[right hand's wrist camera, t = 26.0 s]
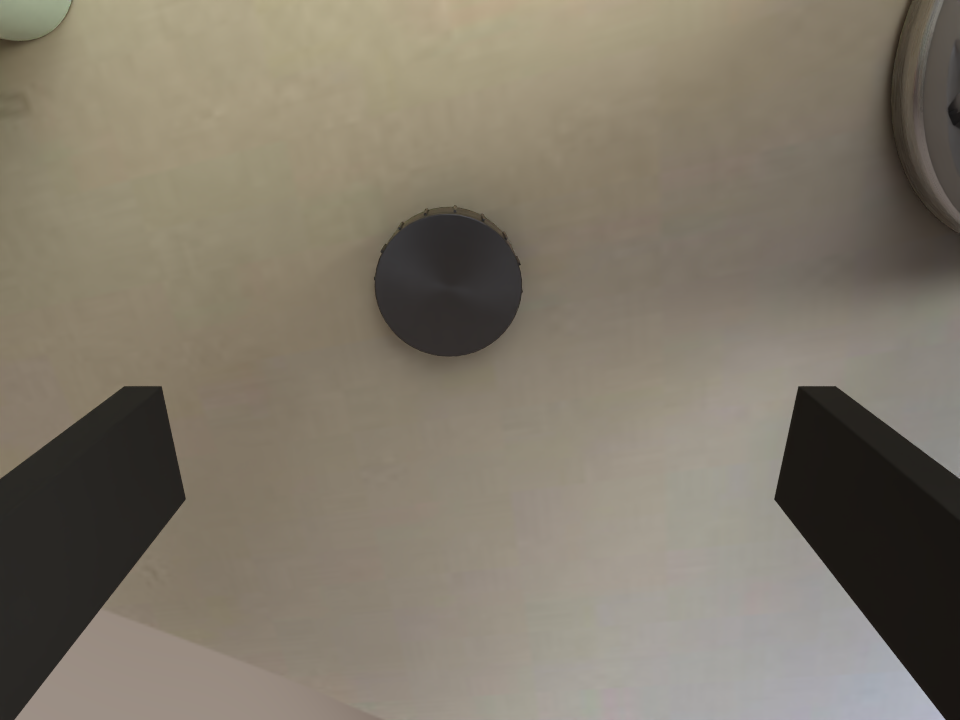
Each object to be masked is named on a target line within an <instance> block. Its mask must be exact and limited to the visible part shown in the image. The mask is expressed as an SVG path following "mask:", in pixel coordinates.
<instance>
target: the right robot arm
mask: <svg viewBox="0 0 960 720" xmlns="http://www.w3.org/2000/svg"><path fill="white" fill-rule="evenodd" d="M891 109H892V124H893V132H894V139H895V143H896V147H897V151H898V155H899V158H900V161H901V164H902V167H903V169H904V172H905V174H906V176H907V178H908V180H909V182H910V184H911V186H912V188H913V189H914V191H915V192H916V194H917V195H918V197H919V198H920V200H921V201H922V202H923V204H924V205H925V206H926V207H927V208H928V209H929V210H930V212H931V213H932V214H933V215H935V216H936V217H937V218H938V219H939V220H940V221H941V222H943V223H944V224H945V225H947V226H948V227H950V228H951V229H953V230H954V231H956V232H957V233H959V234H960V0H912V2H911V5H910V7H909V10H908V13H907V16H906V19H905V22H904V25H903V28H902V32H901V36H900V40H899V44H898V48H897V52H896V58H895V64H894V71H893V78H892V93H891ZM185 500H186V498H185V494H184V489H183V484H182V480H181V475H180V470H179V466H178V461H177V456H176V452H175V447H174V442H173V438H172V433H171V428H170V424H169V419H168V414H167V410H166V405H165V400H164V396H163V391H162V386H124V387H123V388H122V389H120V390H119V391H117V392H116V393H115V394H113V395H112V396H111V397H109V398H108V399H107V400H105V401H104V402H103V403H101V404H100V405H99V406H97V407H96V408H95V409H93V410H92V411H91V412H89V413H88V414H87V415H85V416H84V417H83V418H81V419H80V420H79V421H77V422H76V423H75V424H73V425H72V426H71V427H69V428H68V429H67V430H65V431H64V432H63V433H61V434H60V435H59V436H57V437H56V438H55V439H53V440H52V441H51V442H49V443H48V444H47V445H45V446H44V447H43V448H41V449H40V450H38V451H37V452H36V453H34V454H33V455H32V456H30V457H29V458H28V459H26V460H25V461H24V462H22V463H21V464H20V465H18V466H17V467H16V468H14V469H13V470H12V471H10V472H9V473H8V474H6V475H5V476H4V477H2V478H1V479H0V720H14V719H15V718H16V717H17V716H18V714H19V713H20V712H21V710H22V709H23V708H24V707H25V705H26V704H27V703H28V701H29V700H30V699H31V698H32V696H33V695H34V694H35V692H36V691H37V690H38V689H39V687H40V686H41V685H42V683H43V682H44V681H45V680H46V678H47V677H48V676H49V674H50V673H51V672H52V671H53V669H54V668H55V667H56V665H57V664H58V663H59V662H60V660H61V659H62V658H63V656H64V655H65V654H66V653H67V651H68V650H69V649H70V647H71V646H72V645H73V644H74V642H75V641H76V640H77V638H78V637H79V636H80V635H81V633H82V632H83V631H84V629H85V628H86V627H87V626H88V624H89V623H90V622H91V620H92V619H93V618H94V617H95V615H96V614H97V613H98V611H99V610H100V609H101V608H102V606H103V605H104V604H105V602H106V601H107V600H108V599H109V597H110V596H111V595H112V593H113V592H114V591H115V590H116V588H117V587H118V586H119V584H120V583H121V582H122V581H123V579H124V578H125V577H126V575H127V574H128V573H129V572H130V570H131V569H132V568H133V566H134V565H135V564H136V563H137V561H138V560H139V559H140V557H141V556H142V555H143V554H144V552H145V551H146V550H147V548H148V547H149V546H150V545H151V543H152V542H153V541H154V539H155V538H156V537H157V536H158V534H159V533H160V532H161V530H162V529H163V528H164V527H165V525H166V524H167V523H168V521H169V520H170V519H171V518H172V516H173V515H174V514H175V512H176V511H177V510H178V509H179V507H180V506H181V505H182V503H183V502H184V501H185ZM774 500H775V501H776V502H777V503H778V505H779V506H780V507H781V509H782V510H783V511H784V512H785V514H786V515H787V516H788V518H789V519H790V520H791V521H792V523H793V524H794V525H795V527H796V528H797V529H798V530H799V532H800V533H801V534H802V536H803V537H804V538H805V539H806V541H807V542H808V543H809V545H810V546H811V547H812V548H813V550H814V551H815V552H816V554H817V555H818V556H819V557H820V559H821V560H822V561H823V563H824V564H825V565H826V566H827V568H828V569H829V570H830V572H831V573H832V574H833V575H834V577H835V578H836V579H837V581H838V582H839V583H840V584H841V586H842V587H843V588H844V590H845V591H846V592H847V593H848V595H849V596H850V597H851V599H852V600H853V601H854V602H855V604H856V605H857V606H858V608H859V609H860V610H861V611H862V613H863V614H864V615H865V617H866V618H867V619H868V620H869V622H870V623H871V624H872V626H873V627H874V628H875V629H876V631H877V632H878V633H879V635H880V636H881V637H882V638H883V640H884V641H885V642H886V644H887V645H888V646H889V647H890V649H891V650H892V651H893V653H894V654H895V655H896V656H897V658H898V659H899V660H900V662H901V663H902V664H903V665H904V667H905V668H906V669H907V671H908V672H909V673H910V674H911V676H912V677H913V678H914V680H915V681H916V682H917V683H918V685H919V686H920V687H921V689H922V690H923V691H924V692H925V694H926V695H927V696H928V698H929V699H930V700H931V701H932V703H933V704H934V705H935V707H936V708H937V709H938V710H939V712H940V713H941V714H942V716H943V717H944V718H945V719H946V720H960V479H959V478H958V477H956V476H955V475H954V474H952V473H951V472H950V471H948V470H947V469H946V468H944V467H943V466H942V465H940V464H939V463H938V462H936V461H935V460H934V459H932V458H931V457H930V456H928V455H927V454H926V453H924V452H923V451H922V450H920V449H919V448H917V447H916V446H915V445H913V444H912V443H911V442H909V441H908V440H907V439H905V438H904V437H903V436H901V435H900V434H899V433H897V432H896V431H895V430H893V429H892V428H891V427H889V426H888V425H887V424H885V423H884V422H883V421H881V420H880V419H879V418H877V417H876V416H875V415H873V414H872V413H871V412H869V411H868V410H867V409H865V408H864V407H863V406H861V405H860V404H859V403H857V402H856V401H855V400H853V399H852V398H851V397H849V396H848V395H847V394H845V393H844V392H843V391H841V390H840V389H838V388H837V387H836V386H798V391H797V396H796V400H795V405H794V410H793V414H792V419H791V424H790V428H789V433H788V438H787V442H786V447H785V452H784V456H783V461H782V466H781V470H780V475H779V480H778V484H777V489H776V494H775V498H774Z"/></svg>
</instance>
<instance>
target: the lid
mask: <svg viewBox="0 0 960 720" xmlns="http://www.w3.org/2000/svg"><path fill="white" fill-rule="evenodd" d="M381 253H382V255H381V257H380V259H379V262H378V265H377V269H376V275H375V277H374V280H375V294H376V299H377V303H378V306H379V309H380V312H381V314H382V316H383V318H384V320H385V321H386V323H387V324H388V326H389V327H390V328H391V330H392V331H393V332H394V333H395V334H396V335H397V336H398V337H399V338H400V339H402V340H403V341H404V342H405V343H407V344H409V345H410V346H412V347H414V348H416V349H418V350H420V351H422V352H425V353H428V354H433V355H437V356H461V355H466V354H470V353H473V352H476V351H478V350H481V349H483V348H485V347H486V346H488V345H490V344H491V343H493V342H494V341H495V340H496V339H498V338H499V337H500V336H501V335H502V334H503V333H504V332H505V331H506V329H507V328H508V327H509V325H510V324H511V322H512V320H513V319H514V317H515V315H516V312H517V310H518V307H519V304H520V300H521V293H522V279H521V272H520V268H519V265H521V264H520V261H519V259H518V256H515V253H514V251H513V249H512V246H511V244H510V243H509V241H508V238H507V236H506V233H505V232H503V233H502V231H501V230H500V229H499V228H498V227H497V226H496V225H495V224H494V223H492V222H491V221H489V220H488V219H487V218H485V216H484V214H481V215H480V214H478V213H475V212H472V211H470V210H466V209H462V208H457V206H454V207H442V208H435V209H431V210H428V208H427V209H425V211H424V212H422V213H420V214H417V215H415V216H414V217H412V218H411V219H409V220H407V221H406V222H405V223H403V222H402V223H401V224H400V226H399V227H398V230H397V231H396V232H395V233H394V234H393V236H392V237H391V239H390V240H389V242H388V244H385V245H384V247H383V248H382V250H381Z"/></svg>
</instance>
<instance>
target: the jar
mask: <svg viewBox="0 0 960 720" xmlns="http://www.w3.org/2000/svg"><path fill="white" fill-rule="evenodd" d="M70 4H71V0H0V38H1V39H7V40H14V41H27V40H33V39H37V38H40V37H42V36H45V35H46V34H48V33H50V32H51V31H53V30H54V29H55V28H56V27H57V26H58V25H59V24H60V23H61V21H62V20H63V19H64V17H65V15H66V14H67V12H68V9H69V7H70Z"/></svg>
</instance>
